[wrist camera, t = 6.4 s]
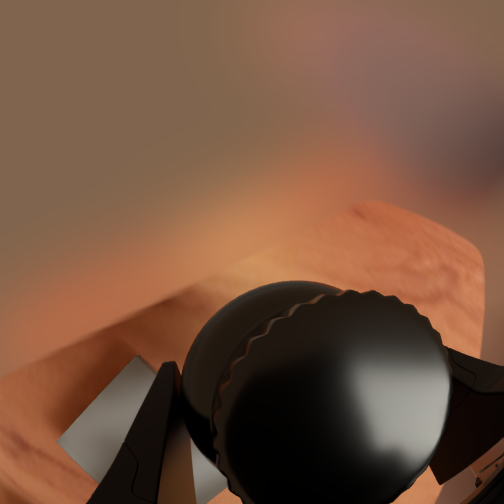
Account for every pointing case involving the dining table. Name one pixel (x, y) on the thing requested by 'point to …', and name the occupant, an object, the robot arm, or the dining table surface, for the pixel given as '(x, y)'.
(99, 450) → the plate
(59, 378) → the dining table surface
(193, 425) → the supplement bottle
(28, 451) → the dining table surface
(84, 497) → the dining table surface
